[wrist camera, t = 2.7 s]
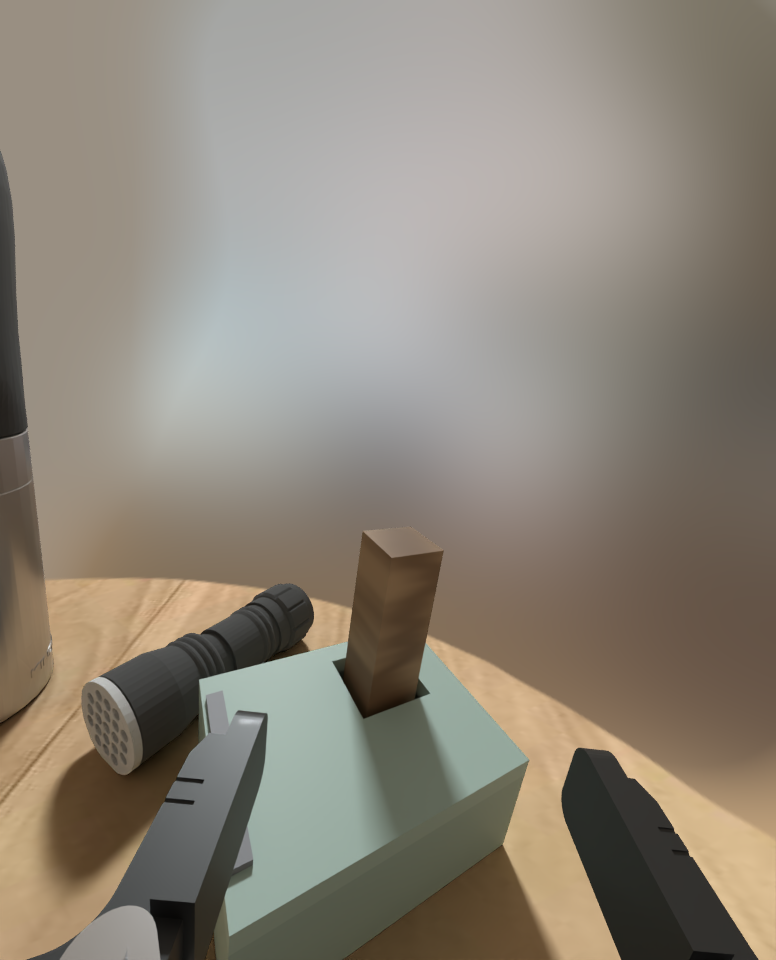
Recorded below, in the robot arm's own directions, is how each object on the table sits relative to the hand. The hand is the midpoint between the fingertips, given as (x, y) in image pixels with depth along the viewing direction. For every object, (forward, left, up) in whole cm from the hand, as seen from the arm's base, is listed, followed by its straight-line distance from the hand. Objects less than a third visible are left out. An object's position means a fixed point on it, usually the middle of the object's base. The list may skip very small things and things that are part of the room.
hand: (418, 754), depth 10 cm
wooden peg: (+6, +10, -13) cm, 17 cm away
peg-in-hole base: (+3, +8, -14) cm, 16 cm away
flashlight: (-2, +19, -15) cm, 24 cm away
